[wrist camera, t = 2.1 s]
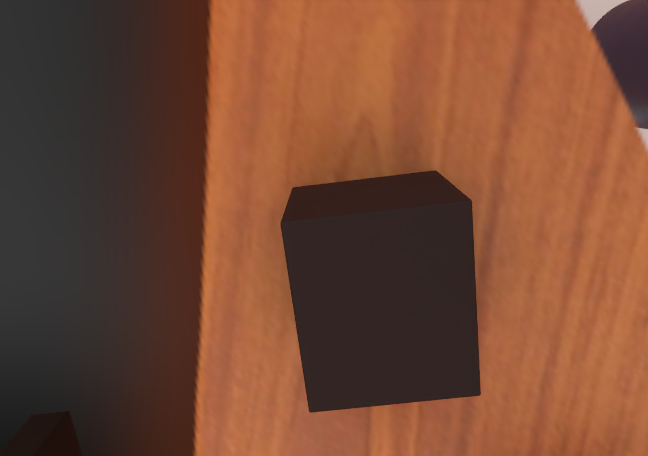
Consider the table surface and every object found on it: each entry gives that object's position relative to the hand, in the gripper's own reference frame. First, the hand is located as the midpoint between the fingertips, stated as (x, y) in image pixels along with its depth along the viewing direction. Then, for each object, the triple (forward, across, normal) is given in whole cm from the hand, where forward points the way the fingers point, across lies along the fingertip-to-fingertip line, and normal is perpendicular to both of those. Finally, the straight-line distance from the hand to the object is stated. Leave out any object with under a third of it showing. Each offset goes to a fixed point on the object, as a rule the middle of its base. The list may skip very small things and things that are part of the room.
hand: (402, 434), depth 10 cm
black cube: (+12, 0, -1) cm, 12 cm away
